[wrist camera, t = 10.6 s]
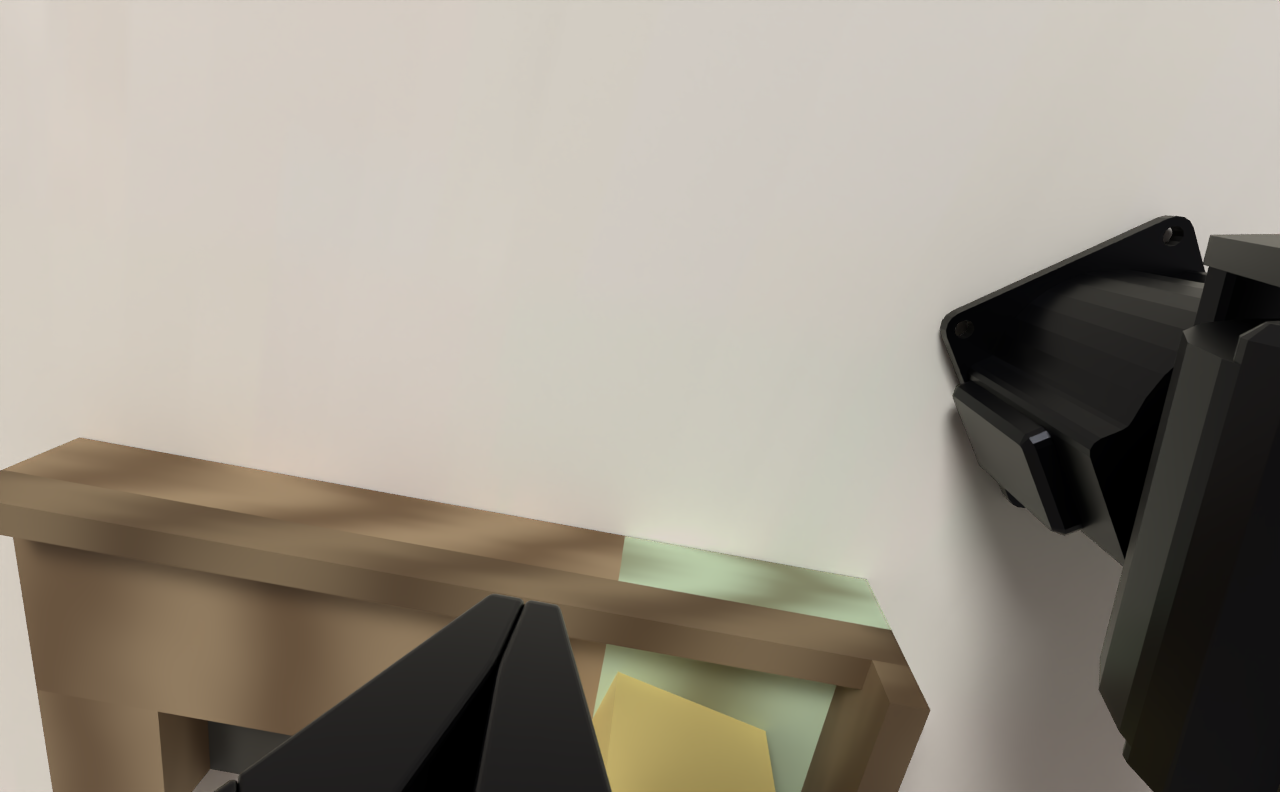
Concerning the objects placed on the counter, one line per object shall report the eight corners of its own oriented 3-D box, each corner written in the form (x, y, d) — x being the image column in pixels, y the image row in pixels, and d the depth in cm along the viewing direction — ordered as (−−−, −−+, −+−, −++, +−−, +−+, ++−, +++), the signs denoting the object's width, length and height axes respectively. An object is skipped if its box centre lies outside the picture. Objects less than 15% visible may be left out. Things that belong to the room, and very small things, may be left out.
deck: (866, 579, 21) (930, 710, 16) (773, 861, 25) (798, 1040, 20) (79, 437, 21) (-121, 520, 16) (113, 743, 25) (-36, 891, 20)
